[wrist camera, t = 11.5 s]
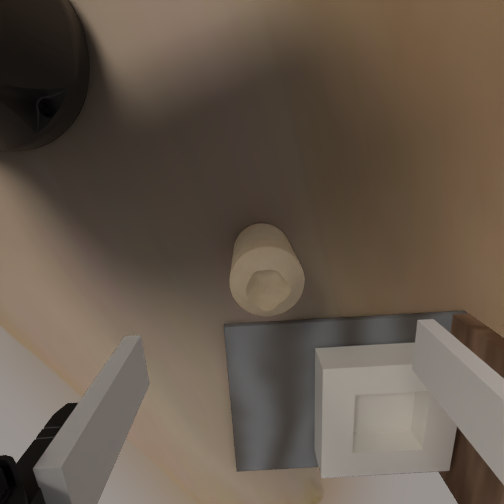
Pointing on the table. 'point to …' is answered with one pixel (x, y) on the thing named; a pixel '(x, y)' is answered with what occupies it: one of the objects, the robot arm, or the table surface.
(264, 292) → the candle
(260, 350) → the backstop jig
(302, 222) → the table surface
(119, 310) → the table surface
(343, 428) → the holder
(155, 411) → the table surface
